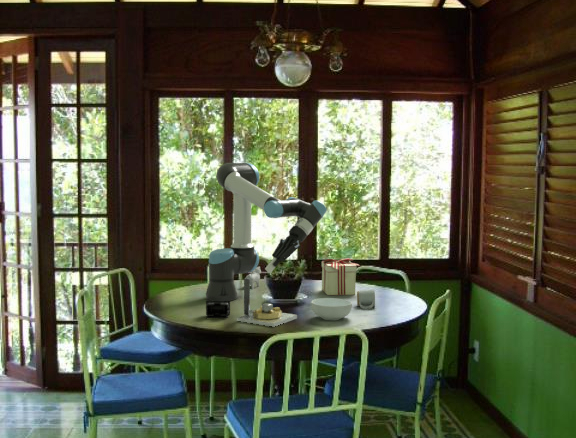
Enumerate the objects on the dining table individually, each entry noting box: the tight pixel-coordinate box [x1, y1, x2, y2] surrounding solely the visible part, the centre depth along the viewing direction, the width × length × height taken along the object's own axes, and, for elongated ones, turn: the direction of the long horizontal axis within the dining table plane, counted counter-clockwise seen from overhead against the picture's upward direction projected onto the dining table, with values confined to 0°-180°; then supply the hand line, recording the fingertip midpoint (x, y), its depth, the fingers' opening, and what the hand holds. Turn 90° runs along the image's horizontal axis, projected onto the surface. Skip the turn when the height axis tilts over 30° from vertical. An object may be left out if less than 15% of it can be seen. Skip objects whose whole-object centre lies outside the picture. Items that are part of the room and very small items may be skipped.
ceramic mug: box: [356, 289, 376, 310], centre depth 304 cm, size 11×8×8 cm
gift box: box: [321, 258, 361, 296], centre depth 337 cm, size 17×18×17 cm
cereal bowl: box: [310, 297, 353, 321], centre depth 282 cm, size 17×17×7 cm
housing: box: [236, 302, 298, 328], centre depth 278 cm, size 18×18×6 cm
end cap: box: [205, 300, 231, 319], centre depth 284 cm, size 10×7×7 cm
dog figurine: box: [245, 266, 262, 290], centre depth 353 cm, size 5×13×11 cm, turn 157°
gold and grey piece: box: [243, 277, 283, 319], centre depth 278 cm, size 16×11×15 cm
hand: (267, 271), depth 287 cm, fingers closed
